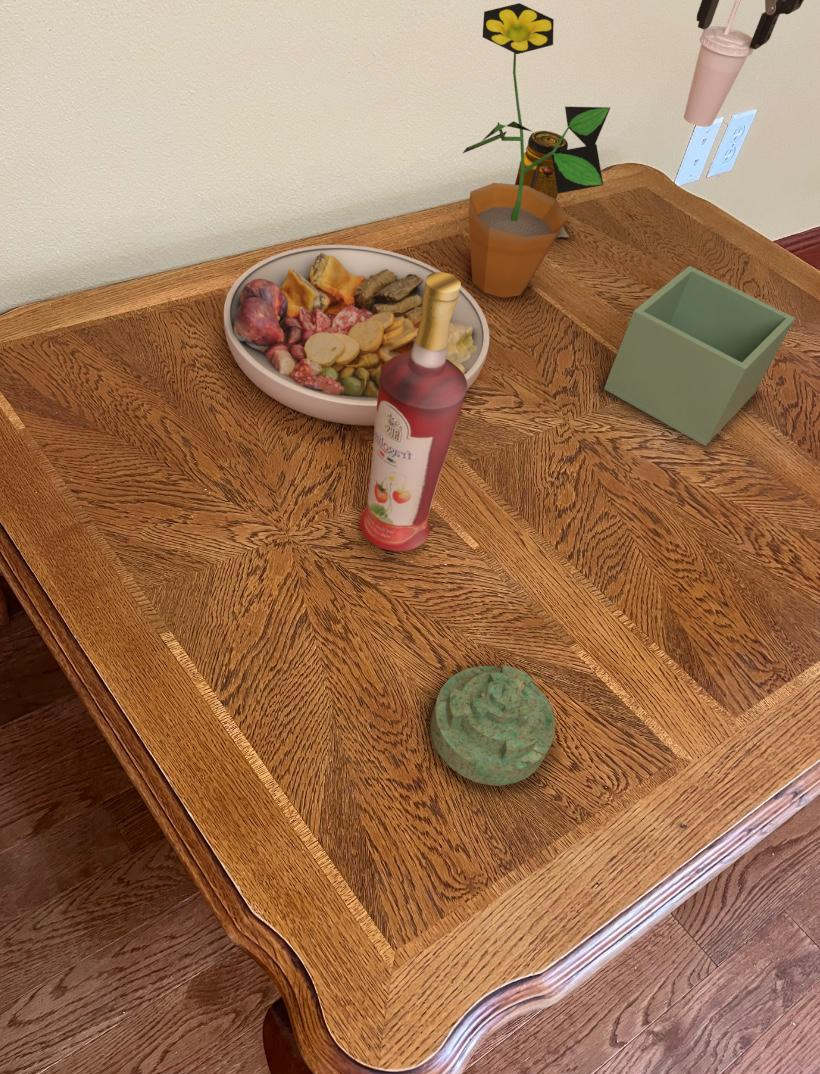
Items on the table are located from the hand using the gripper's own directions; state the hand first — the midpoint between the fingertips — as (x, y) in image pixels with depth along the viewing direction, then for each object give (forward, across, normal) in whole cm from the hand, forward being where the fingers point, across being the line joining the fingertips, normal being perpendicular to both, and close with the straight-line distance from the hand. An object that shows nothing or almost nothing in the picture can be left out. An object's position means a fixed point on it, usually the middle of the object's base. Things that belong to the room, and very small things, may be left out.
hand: (729, 36), depth 111 cm
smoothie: (+10, 0, 0) cm, 10 cm away
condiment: (+28, +14, +9) cm, 32 cm away
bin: (+27, -19, +26) cm, 42 cm away
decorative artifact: (+28, -30, +81) cm, 91 cm away
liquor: (+27, -9, +69) cm, 75 cm away
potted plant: (+27, +9, +25) cm, 38 cm away
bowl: (+27, +12, +51) cm, 59 cm away
